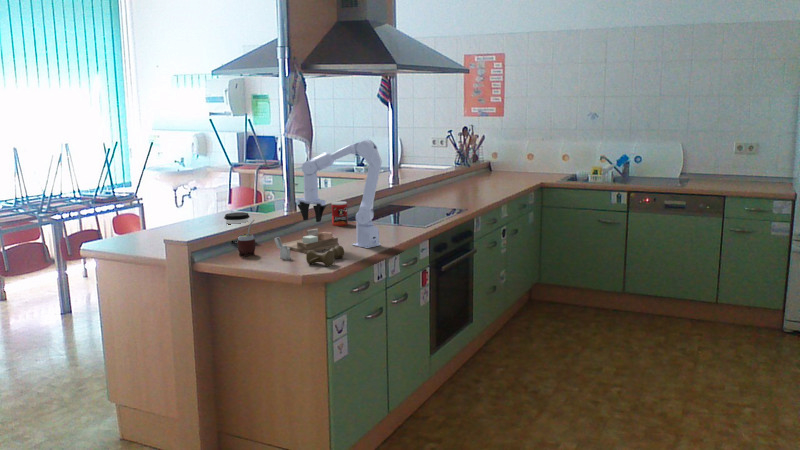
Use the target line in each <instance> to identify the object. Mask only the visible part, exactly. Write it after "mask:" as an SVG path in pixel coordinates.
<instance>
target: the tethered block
mask: <svg viewBox="0 0 800 450" xmlns="http://www.w3.org/2000/svg"><path fill="white" fill-rule="evenodd" d="M310 235H312V236H317V237H318V240H321V241H324V240H328V239H333V237H334V236H333V232H329V231H323V232H319V228H313V229H307V230H306V236H310Z"/></svg>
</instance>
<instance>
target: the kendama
mask: <svg viewBox="0 0 800 450" xmlns="http://www.w3.org/2000/svg"><path fill="white" fill-rule="evenodd" d="M305 256H306V257H305V258H306V259H305V260H306V262H307V263H306V264H308V265H313V264H312V263H314V264H316V263H323V264H324V265H325V266H326V267H331V266H333V265H334V263H335V262H334V261H335V259H339V258H340V259H342V258H343V257H344V256H345V250H344V247H343V246H341V245H340V244H339V245H338V246H335V247H334V248H329V249H328V250H327V251H325V252H323V253H322V252H321V253H319V252H318V251H314V250H309V251H308V252H307V253H306V255H305ZM337 257H338V258H337ZM330 265H331V266H330Z"/></svg>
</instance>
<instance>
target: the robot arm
mask: <svg viewBox="0 0 800 450" xmlns="http://www.w3.org/2000/svg"><path fill="white" fill-rule="evenodd" d="M350 154H351V155H359V156H360V157H361V158H363V159H364V160H365V161H366V162H367V163H368V170H367V173H366V179H365V185H364V189H363V195H362V199H361V202H360V206H359V208H358V211H357V212H356V214H355V221H356V224H355V225H356V227H355V228H356V243H352V246H356V247H360V248H364V249H365V248H366V249H370V248H374V247H380V246H382V244H381V243H380V230H379V228H378V226H375V225H374V222H373V219H374V216H375V212H374V201H375V196H376V191H377V185H378V181H379V176H380V172H381V167H382V163H383V162H382V161H383V160H382V159H381V156H380V153H379V150H378V146H377V145H376V144H375V142H373V141H372V140H371V139H364V140H361V141H358V142H354V143H350V144H349V145H346V146H345V147H342V148H340V149H338V150H336V151H335V152H332V153H330V152H327V151H326V152H325V151H324V152H321V153H320V155H317V156H316V157H311V158H310V160H306V161H304V162H303V163H302V164H301V171H302V174H303V197H299V198H297V203H298V204H297V207H298V210H299V211H300V213H301V216H302V220H303V221H307V220H309V210H310V209H309V208H310V204H311V205H312V206H313V211H314V214H315V222H316V223H320V222H322V217H323V214H324V211H325V209H326V207H327V205H326V200H324V199H320V198H319V192H318V191H319V187H318V184H319V183H318V171H319V172H320V171H323V170H324V169H327V168H328V167H331V166H333V165H334V162H335V161H336V160H338V159H340V158H343V157H346V156H349V155H350Z"/></svg>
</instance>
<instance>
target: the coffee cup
mask: <svg viewBox="0 0 800 450" xmlns="http://www.w3.org/2000/svg"><path fill="white" fill-rule="evenodd" d="M223 219H224V220H225V221H226V225H227V224H228V225H231V224H241V223H246V222H248V223H249V219H250V215H249V213H248V212H244V211H243V212H240V211H239V212H229V213H225V215H224V217H223Z"/></svg>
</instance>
